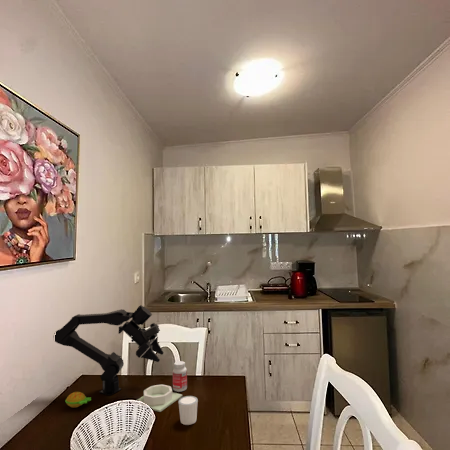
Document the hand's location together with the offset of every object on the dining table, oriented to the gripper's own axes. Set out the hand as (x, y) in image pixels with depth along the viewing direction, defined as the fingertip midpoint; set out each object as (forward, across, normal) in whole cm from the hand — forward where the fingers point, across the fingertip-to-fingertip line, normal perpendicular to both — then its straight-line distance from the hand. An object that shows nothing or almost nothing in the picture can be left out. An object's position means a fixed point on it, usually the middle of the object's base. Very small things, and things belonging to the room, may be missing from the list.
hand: (161, 357), depth 138 cm
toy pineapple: (-12, -12, +31) cm, 36 cm away
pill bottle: (+15, 0, +4) cm, 16 cm away
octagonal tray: (+10, -9, +9) cm, 17 cm away
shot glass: (+20, -26, 0) cm, 32 cm away
